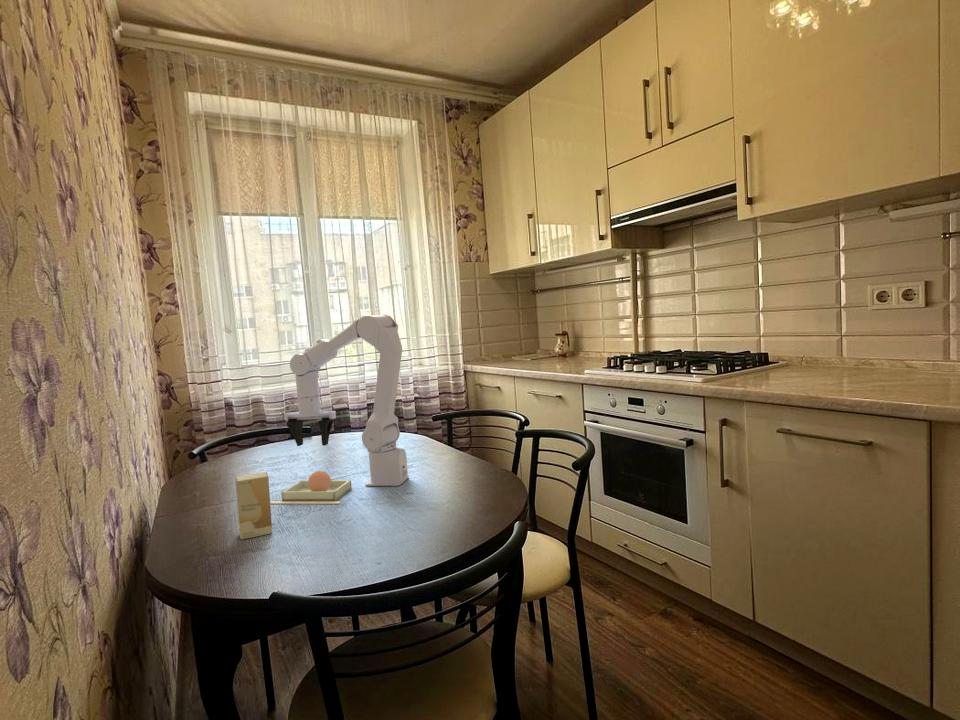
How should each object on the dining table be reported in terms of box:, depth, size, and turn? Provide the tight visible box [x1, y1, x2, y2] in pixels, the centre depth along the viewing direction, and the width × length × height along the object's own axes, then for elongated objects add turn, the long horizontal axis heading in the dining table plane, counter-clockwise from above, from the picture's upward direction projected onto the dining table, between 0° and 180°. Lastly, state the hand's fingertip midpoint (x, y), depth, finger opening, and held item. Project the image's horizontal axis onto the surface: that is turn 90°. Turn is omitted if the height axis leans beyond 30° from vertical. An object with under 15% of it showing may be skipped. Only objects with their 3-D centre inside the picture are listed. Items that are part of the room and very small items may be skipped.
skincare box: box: [234, 471, 273, 540], centre depth 113 cm, size 6×4×12 cm
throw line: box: [270, 500, 341, 505], centre depth 132 cm, size 18×1×1 cm, turn 79°
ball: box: [308, 470, 332, 491], centre depth 137 cm, size 6×6×6 cm
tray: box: [280, 479, 352, 501], centre depth 138 cm, size 14×10×2 cm
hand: (312, 445), depth 153 cm, fingers open, 7 cm apart
